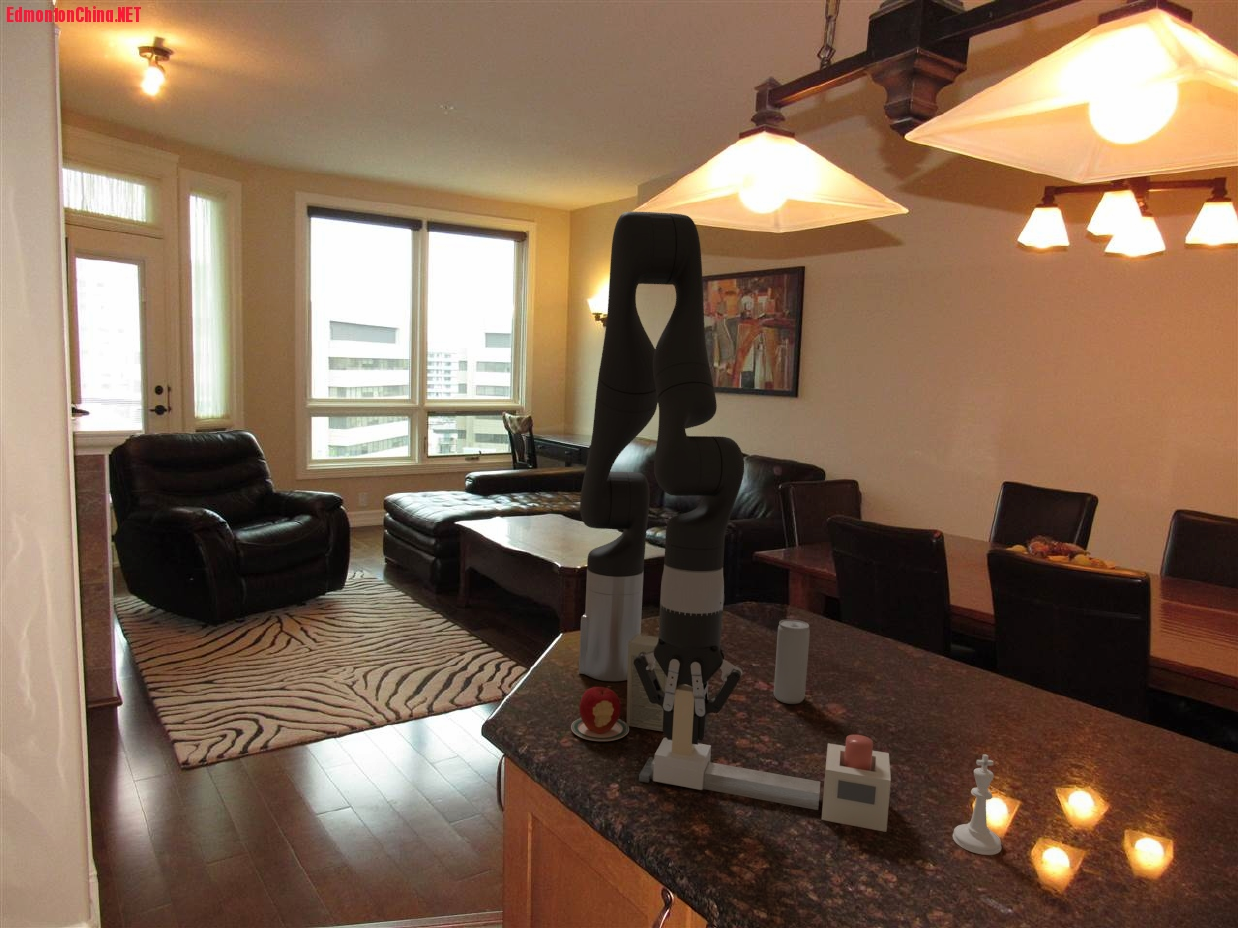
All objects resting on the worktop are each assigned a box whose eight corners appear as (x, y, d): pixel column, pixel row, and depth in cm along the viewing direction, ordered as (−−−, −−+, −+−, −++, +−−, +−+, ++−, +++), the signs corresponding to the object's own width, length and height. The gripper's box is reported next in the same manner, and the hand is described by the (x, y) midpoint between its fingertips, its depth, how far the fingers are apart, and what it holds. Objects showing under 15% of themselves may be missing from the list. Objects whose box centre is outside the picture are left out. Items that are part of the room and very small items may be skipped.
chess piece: (944, 829, 92) (952, 744, 91) (986, 829, 93) (995, 744, 92) (966, 855, 88) (975, 765, 86) (1010, 855, 88) (1020, 766, 87)
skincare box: (675, 721, 118) (680, 638, 116) (667, 733, 114) (672, 648, 112) (633, 713, 120) (637, 632, 118) (623, 725, 116) (627, 641, 114)
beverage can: (802, 694, 130) (808, 620, 129) (806, 706, 125) (812, 629, 124) (771, 691, 131) (776, 618, 129) (774, 703, 126) (779, 627, 124)
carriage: (653, 780, 100) (657, 691, 98) (662, 761, 105) (667, 676, 103) (701, 789, 98) (707, 698, 97) (709, 770, 103) (714, 683, 102)
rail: (638, 780, 100) (639, 765, 100) (649, 762, 105) (649, 747, 105) (817, 814, 94) (818, 797, 94) (819, 793, 99) (820, 777, 99)
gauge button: (842, 785, 94) (845, 743, 94) (843, 773, 97) (846, 732, 97) (869, 789, 93) (873, 748, 93) (869, 777, 96) (872, 737, 96)
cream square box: (821, 820, 93) (825, 770, 92) (824, 790, 100) (827, 743, 99) (886, 832, 91) (890, 781, 90) (884, 801, 98) (888, 753, 97)
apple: (640, 732, 114) (643, 687, 113) (600, 750, 108) (602, 702, 107) (599, 714, 119) (601, 670, 119) (558, 730, 114) (560, 684, 113)
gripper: (627, 602, 97) (620, 743, 99) (745, 617, 93) (736, 762, 95) (643, 587, 104) (636, 718, 106) (753, 600, 100) (745, 736, 102)
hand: (684, 738), depth 101 cm, fingers closed on carriage, 2 cm apart
